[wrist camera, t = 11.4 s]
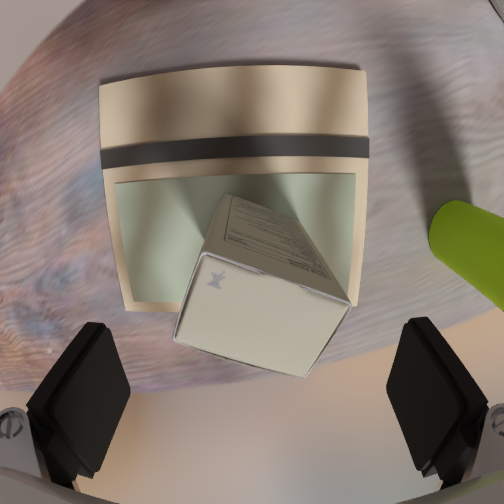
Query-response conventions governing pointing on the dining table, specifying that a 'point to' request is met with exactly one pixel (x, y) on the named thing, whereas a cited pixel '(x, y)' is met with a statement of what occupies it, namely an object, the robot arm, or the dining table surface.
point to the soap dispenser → (471, 246)
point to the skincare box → (261, 293)
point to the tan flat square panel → (231, 166)
